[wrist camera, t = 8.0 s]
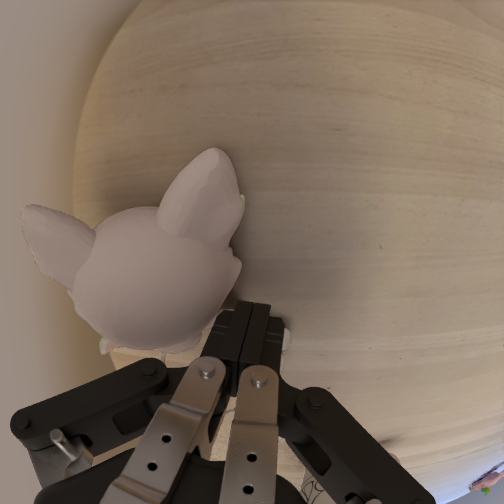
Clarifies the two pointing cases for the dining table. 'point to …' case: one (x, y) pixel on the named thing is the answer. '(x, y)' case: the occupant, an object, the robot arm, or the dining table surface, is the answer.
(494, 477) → the pink soft figure
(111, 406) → the robot arm
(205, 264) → the toy
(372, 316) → the dining table surface
